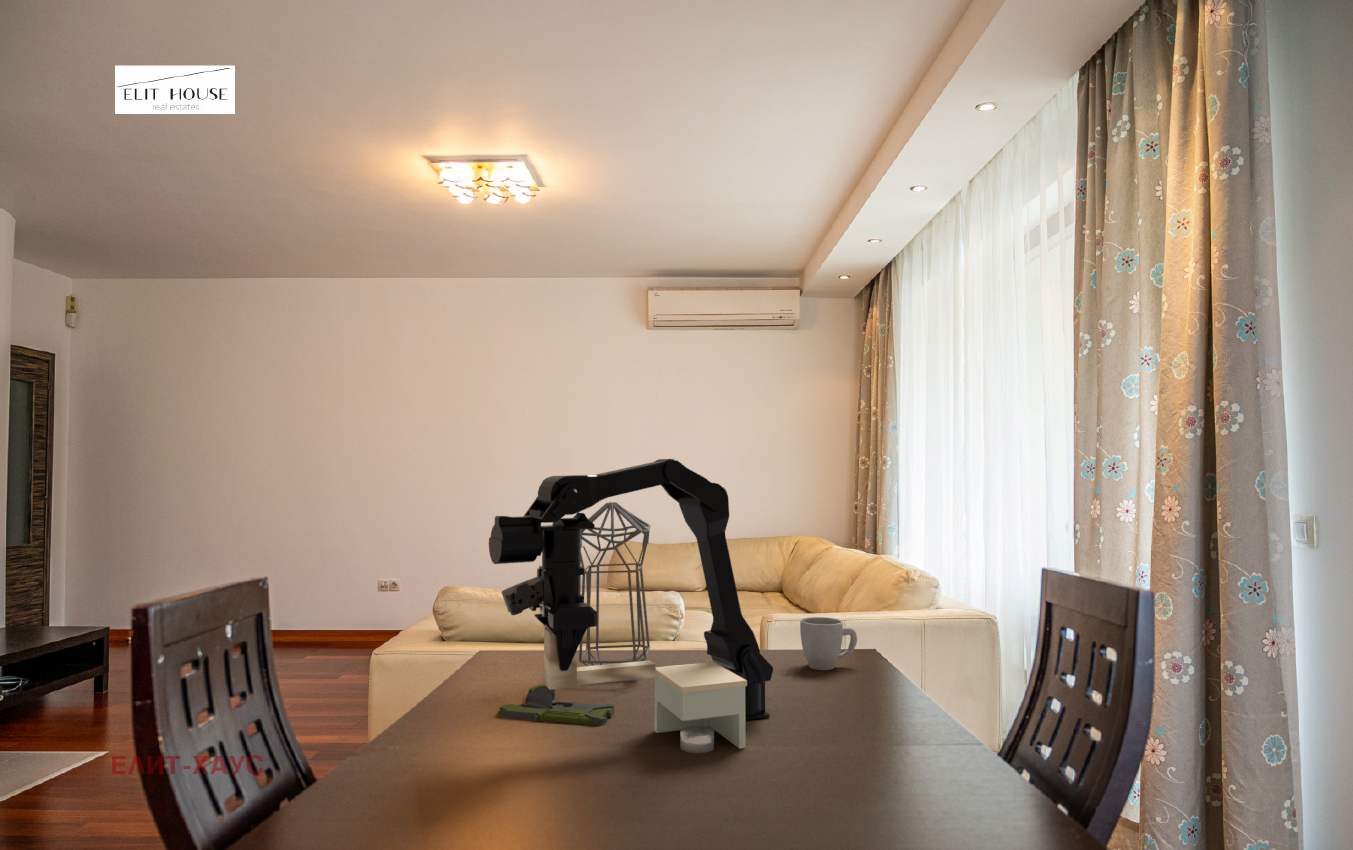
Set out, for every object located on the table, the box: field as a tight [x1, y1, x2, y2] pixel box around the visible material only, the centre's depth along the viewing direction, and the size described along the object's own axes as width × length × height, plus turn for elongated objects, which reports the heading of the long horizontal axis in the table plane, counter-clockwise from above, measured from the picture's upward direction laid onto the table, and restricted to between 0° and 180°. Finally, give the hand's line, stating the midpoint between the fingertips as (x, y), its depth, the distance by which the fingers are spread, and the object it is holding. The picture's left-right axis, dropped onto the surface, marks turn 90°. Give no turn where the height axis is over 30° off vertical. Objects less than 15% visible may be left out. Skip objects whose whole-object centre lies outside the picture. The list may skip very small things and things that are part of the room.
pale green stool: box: [654, 661, 747, 750], centre depth 119 cm, size 10×12×10 cm
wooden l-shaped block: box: [543, 627, 657, 690], centre depth 116 cm, size 16×4×8 cm, turn 111°
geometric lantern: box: [578, 501, 652, 683], centre depth 156 cm, size 16×16×35 cm
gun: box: [496, 684, 615, 726], centre depth 134 cm, size 2×19×15 cm
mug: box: [799, 616, 858, 671], centre depth 163 cm, size 12×9×10 cm
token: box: [679, 725, 715, 754], centre depth 115 cm, size 5×5×2 cm
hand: (560, 667), depth 114 cm, fingers closed on wooden l-shaped block, 4 cm apart
